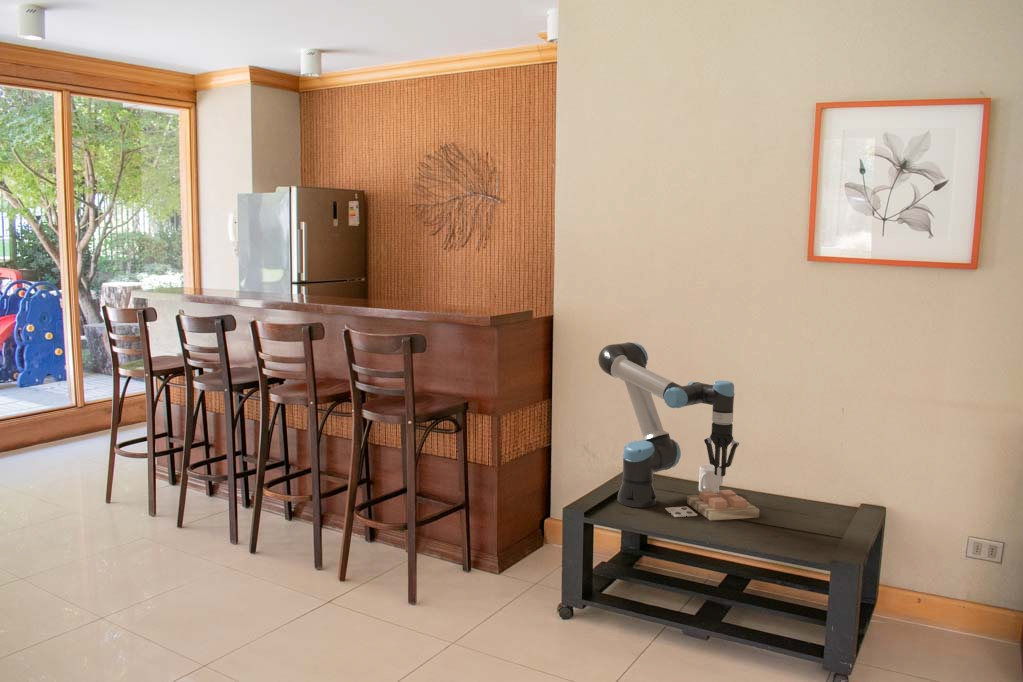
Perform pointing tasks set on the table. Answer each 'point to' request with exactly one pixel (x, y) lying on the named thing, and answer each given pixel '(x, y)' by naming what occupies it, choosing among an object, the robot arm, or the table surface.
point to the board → (722, 510)
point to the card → (681, 511)
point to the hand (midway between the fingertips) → (719, 483)
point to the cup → (708, 479)
